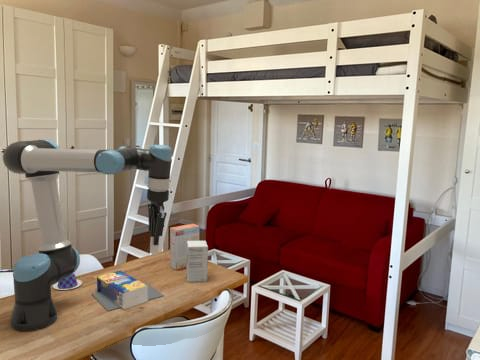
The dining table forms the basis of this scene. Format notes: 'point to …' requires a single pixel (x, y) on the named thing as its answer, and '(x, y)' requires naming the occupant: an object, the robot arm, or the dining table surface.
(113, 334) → the dining table surface
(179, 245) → the cracker box
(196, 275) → the supplement box
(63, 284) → the pudding
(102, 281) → the beverage box
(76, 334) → the dining table surface
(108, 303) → the mat
